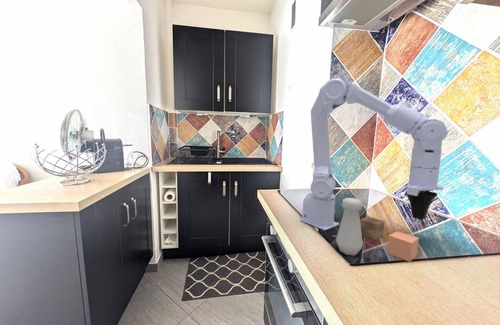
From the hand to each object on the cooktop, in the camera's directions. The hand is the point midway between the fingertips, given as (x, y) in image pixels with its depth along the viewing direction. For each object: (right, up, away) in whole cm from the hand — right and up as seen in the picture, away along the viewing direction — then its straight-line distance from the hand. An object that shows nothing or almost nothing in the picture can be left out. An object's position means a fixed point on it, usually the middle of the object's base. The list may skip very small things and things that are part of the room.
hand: (418, 218), depth 55 cm
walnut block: (-10, -6, +5) cm, 12 cm away
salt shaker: (-20, -7, -4) cm, 22 cm away
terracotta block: (-8, -7, -5) cm, 12 cm away
